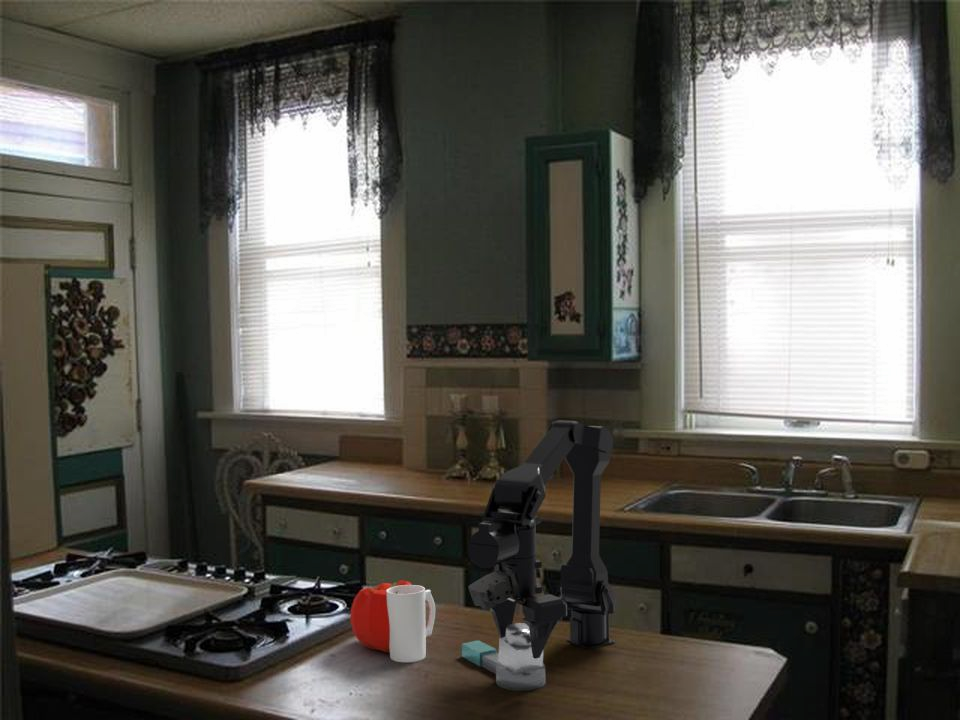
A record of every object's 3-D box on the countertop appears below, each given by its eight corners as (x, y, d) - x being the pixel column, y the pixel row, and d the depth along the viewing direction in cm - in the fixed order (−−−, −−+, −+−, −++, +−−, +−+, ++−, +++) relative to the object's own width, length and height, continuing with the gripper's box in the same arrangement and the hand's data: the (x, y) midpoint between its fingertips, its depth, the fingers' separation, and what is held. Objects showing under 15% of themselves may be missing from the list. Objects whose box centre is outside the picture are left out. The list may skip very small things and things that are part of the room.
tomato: (387, 664, 173) (385, 595, 173) (336, 648, 183) (333, 584, 183) (443, 645, 182) (441, 581, 182) (391, 632, 192) (389, 570, 192)
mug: (405, 666, 172) (403, 596, 172) (380, 658, 177) (378, 590, 177) (448, 652, 179) (446, 585, 179) (423, 645, 184) (421, 579, 184)
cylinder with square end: (524, 655, 167) (526, 620, 167) (542, 668, 163) (544, 632, 162) (498, 661, 165) (500, 626, 164) (515, 674, 160) (517, 638, 160)
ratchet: (450, 659, 176) (449, 627, 175) (489, 651, 180) (488, 619, 180) (513, 694, 158) (513, 658, 158) (555, 684, 163) (554, 649, 162)
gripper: (446, 551, 167) (448, 644, 168) (508, 573, 151) (510, 676, 152) (503, 542, 173) (505, 632, 173) (568, 563, 157) (570, 662, 157)
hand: (520, 650), depth 164 cm, fingers open, 9 cm apart
